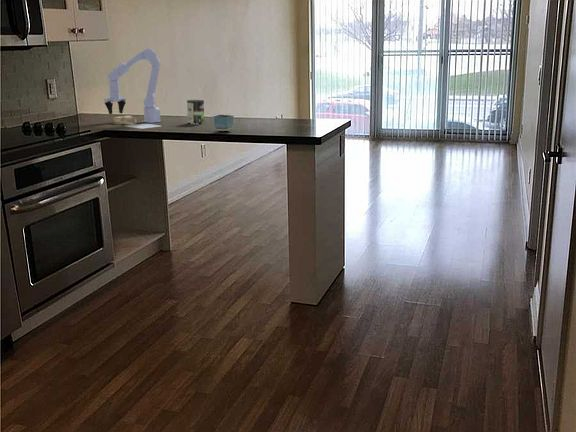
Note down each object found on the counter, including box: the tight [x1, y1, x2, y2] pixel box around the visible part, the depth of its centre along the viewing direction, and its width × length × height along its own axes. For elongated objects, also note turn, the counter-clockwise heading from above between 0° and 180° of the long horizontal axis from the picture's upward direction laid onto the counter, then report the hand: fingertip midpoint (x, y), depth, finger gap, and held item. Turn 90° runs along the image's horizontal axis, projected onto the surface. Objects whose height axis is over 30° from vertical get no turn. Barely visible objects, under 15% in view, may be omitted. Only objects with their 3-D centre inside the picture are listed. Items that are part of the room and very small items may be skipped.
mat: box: [125, 123, 161, 130], centre depth 357 cm, size 16×16×1 cm
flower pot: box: [213, 114, 234, 129], centre depth 338 cm, size 9×9×9 cm
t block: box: [112, 115, 138, 126], centre depth 365 cm, size 12×12×4 cm
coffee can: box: [186, 99, 205, 124], centre depth 370 cm, size 10×10×14 cm
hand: (115, 113), depth 370 cm, fingers open, 7 cm apart
